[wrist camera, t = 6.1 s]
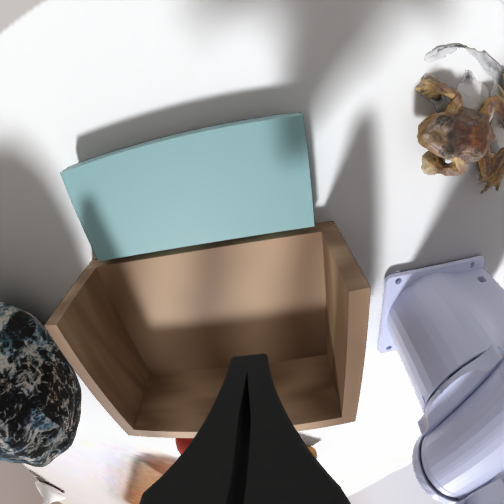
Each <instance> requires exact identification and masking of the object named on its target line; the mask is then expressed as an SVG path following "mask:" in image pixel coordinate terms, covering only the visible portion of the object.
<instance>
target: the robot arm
mask: <svg viewBox="0 0 504 504" xmlns="http://www.w3.org/2000/svg"><path fill="white" fill-rule="evenodd" d="M471 263H472V264H471ZM484 263H485V259H484V257H482V256H476V257H471V258H467V259H462V260H458V261H453V262H448V263H444V264H439V265H434V266H429V267H424V268H419V269H414V270H409V271H404V272H399V273H394V274H390V275H388V276H387V277H386V278H385V281H384V292H383V303H382V313H381V322H380V330H379V338H378V345H377V349H378V351H379V352H380V353H383V352H387V351H392V350H396V349H397V351H398V353H399V355H400V357H401V360H402V362H403V364H404V366H405V369H406V371H407V373H408V376H409V378H410V380H411V383H412V385H413V387H414V390H415V392H416V395H417V397H418V400H419V402H420V405H421V407H422V410H423V412H424V415H423V417H422V418H421V419H420V420H419V421H418V425H419V427H420V430H421V433H422V435H421V436H420V437H419V439H418V440H417V442H416V444H415V446H414V449H413V456H412V457H413V468H414V472H415V475H416V478H417V480H418V482H419V484H420V486H421V487H422V489H423V490H424V491H425V492H426V493H427V494H428V495H429V496H430V497H431V498H433V499H435V500H436V501H438V502H441V503H444V504H504V289H503V288H502V287H501V286H500V285H499V284H498V283H497V282H496V281H495V280H494V279H493V278H492V277H491V275H490V274H489V273H488V272H487V271H486V270H485V269H484ZM470 264H471V265H470ZM398 278H399V280H398V281H396V280H397V279H398ZM140 504H350V502H349V500H348V498H347V497H346V495H345V494H344V492H343V491H342V489H341V487H340V486H339V485H338V484H337V483H336V482H335V481H334V480H333V479H332V477H331V476H330V475H329V474H328V473H327V472H326V471H325V469H324V468H323V467H322V466H321V465H320V463H319V462H318V461H317V460H316V458H315V457H314V456H313V454H312V453H311V451H310V450H309V449H308V447H307V446H306V445H305V443H304V442H303V440H302V439H301V437H300V435H299V434H298V432H297V431H296V429H295V427H294V426H293V424H292V422H291V420H290V419H289V417H288V415H287V413H286V411H285V409H284V407H283V405H282V403H281V401H280V398H279V396H278V394H277V391H276V389H275V386H274V384H273V380H272V375H271V370H270V366H269V361H268V356H267V355H266V354H264V353H263V354H254V355H246V356H236V357H233V358H232V359H231V361H230V365H229V368H228V371H227V374H226V376H225V379H224V382H223V384H222V387H221V389H220V391H219V393H218V396H217V398H216V400H215V402H214V404H213V406H212V408H211V410H210V412H209V414H208V415H207V417H206V419H205V421H204V423H203V424H202V426H201V428H200V429H199V431H198V432H197V434H196V435H195V437H194V438H193V440H192V441H191V443H190V444H189V445H188V447H187V448H186V449H185V451H184V452H183V453H182V455H181V456H180V457H179V458H178V459H177V461H176V462H175V463H174V464H173V465H172V466H171V467H170V468H169V469H168V470H167V471H166V473H165V474H164V475H163V476H162V477H161V478H160V479H159V480H157V481H156V482H155V483H154V484H153V485H152V486H151V487H150V488H149V489H147V490H146V491H145V492H144V493H143V495H142V498H141V501H140Z"/></svg>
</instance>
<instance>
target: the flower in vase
mask: <svg viewBox="0 0 504 504" xmlns="http://www.w3.org/2000/svg"><path fill="white" fill-rule="evenodd" d="M35 485H36V487H37V489H38V490H39V492H40V493H41V495H42V497H43V500H44V501H43V504H51V503H52V502H54V501H59V500H63V499H65V498H66V496H65V495H64V494H63V493H62V492H61V491H59V490H58V489H56V488H54V487H53V486H51V485H48V484H46V483H43V482H39V481H37V482H35Z"/></svg>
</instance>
